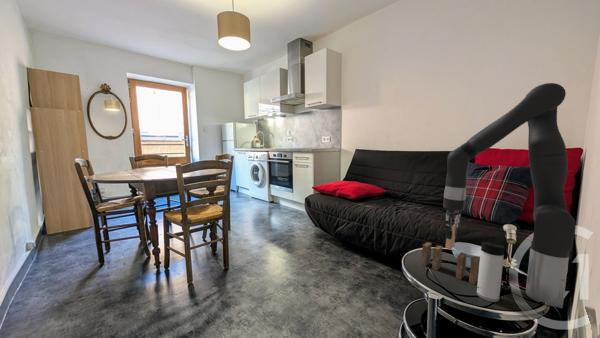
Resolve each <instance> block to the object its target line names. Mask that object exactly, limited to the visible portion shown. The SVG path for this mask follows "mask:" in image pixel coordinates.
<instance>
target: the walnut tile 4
mask: <svg viewBox="0 0 600 338" xmlns="http://www.w3.org/2000/svg"><path fill="white" fill-rule="evenodd" d="M479 263H480V258H479V257H476V256H474V257H473V258H472V259H471V265H470V268H469V278H468V283H469V284H471V285H473V286H475V285H476V284H477V283H478V274H479Z"/></svg>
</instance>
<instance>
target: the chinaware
mask: <svg viewBox="0 0 600 338" xmlns="http://www.w3.org/2000/svg"><path fill="white" fill-rule="evenodd" d="M451 252H452V253H453V256H454V257H455V258H456V259H457V257H458V255H459V254H460V253H461V252H462V253H466V254H467V255H466V266H465V268H468V269H470V265H471V259H472V258H473V257H474V256H476V257H479V258H480V253H481V245H477V244H473V243H468V242H460V241H459V242H458V241H457V242H456V241H455V243H454V247H453V248H451Z"/></svg>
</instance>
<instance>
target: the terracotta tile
mask: <svg viewBox="0 0 600 338" xmlns="http://www.w3.org/2000/svg"><path fill="white" fill-rule="evenodd" d="M448 227H449V225H448ZM456 228H457V227H456V225H454V226H453V232H452V239H447V238H446V237H445V249H448V250H452V248H453V247H454V243H456V241H455V240H456V236H455V232H456Z"/></svg>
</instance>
